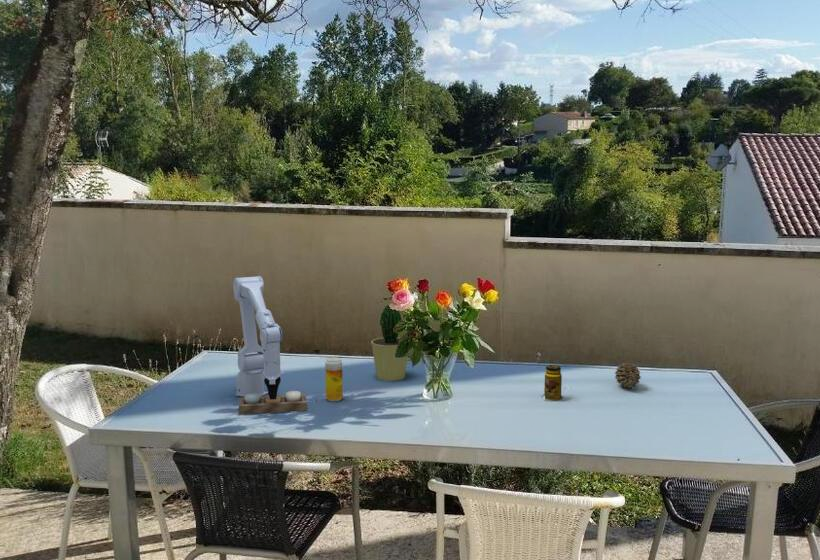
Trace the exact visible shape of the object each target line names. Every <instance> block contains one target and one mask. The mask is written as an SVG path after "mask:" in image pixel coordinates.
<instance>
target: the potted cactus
mask: <svg viewBox="0 0 820 560" xmlns="http://www.w3.org/2000/svg"><path fill="white" fill-rule="evenodd" d="M389 305H390V304H388V305H385V306H384V308H383V309H382V312H381V313H380V314H381V315H378V317H379V318H378V319H379V323H378V326H380V327H381V330H379V331H380V333H381V334H382V337H378V338H375V339H372V340H371V341H370V342H371V347H372V354H373V355H372V356H373V361H374V367H375V368H374V369H375V373H376V375H375V376H376V378H377V379H378V380H379V379H380V381H383V380H384V382H396V381H402V380H404V379H405V377H406V372H407V364H408V356H409V355H408V356H407V357H404V358H396V357H395V353H396V349H397V346H398V343H399V339H400V338H401V337H398V335H399V333H395V332H393V328H394V327H395V325H396V324H397V323H398V322H399V321H401V322H402V320H403V317H402V314H401V312H400V310H398V311H396V310H392V309H390V307H389Z"/></svg>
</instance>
